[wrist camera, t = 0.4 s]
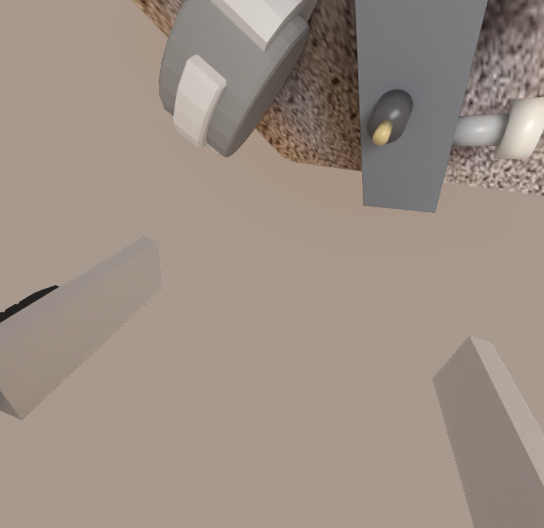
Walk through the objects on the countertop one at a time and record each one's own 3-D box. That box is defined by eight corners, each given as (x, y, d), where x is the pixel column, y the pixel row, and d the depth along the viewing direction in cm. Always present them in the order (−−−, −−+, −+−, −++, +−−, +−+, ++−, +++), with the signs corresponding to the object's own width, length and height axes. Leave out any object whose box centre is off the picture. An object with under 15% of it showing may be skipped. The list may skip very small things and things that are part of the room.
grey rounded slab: (287, -98, 25) (152, -31, 16) (350, -24, 27) (260, 71, 18) (231, 68, 41) (147, 147, 32) (274, 107, 43) (206, 191, 34)
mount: (402, -133, 21) (351, -100, 15) (537, -199, 17) (533, -185, 11) (389, 144, 39) (363, 205, 34) (452, 144, 35) (435, 212, 30)
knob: (453, 93, 27) (445, 121, 25) (550, 85, 24) (550, 116, 21) (443, 140, 31) (435, 167, 29) (524, 138, 28) (523, 170, 25)
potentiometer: (376, 91, 23) (360, 121, 21) (415, 87, 21) (402, 119, 19) (376, 125, 25) (361, 155, 23) (411, 123, 23) (399, 155, 21)
